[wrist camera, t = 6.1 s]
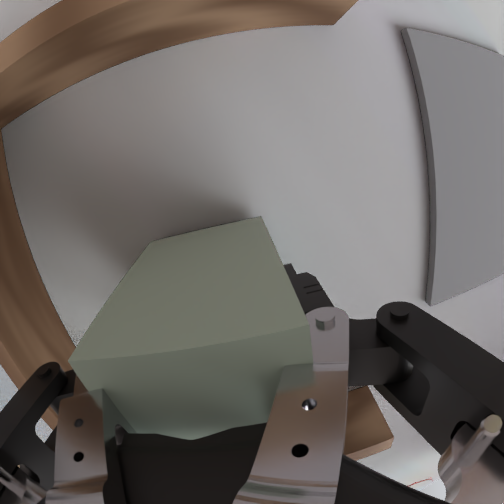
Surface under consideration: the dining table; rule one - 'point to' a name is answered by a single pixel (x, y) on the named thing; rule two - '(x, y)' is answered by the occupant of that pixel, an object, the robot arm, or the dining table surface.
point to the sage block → (197, 333)
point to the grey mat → (461, 159)
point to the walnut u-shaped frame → (83, 66)
